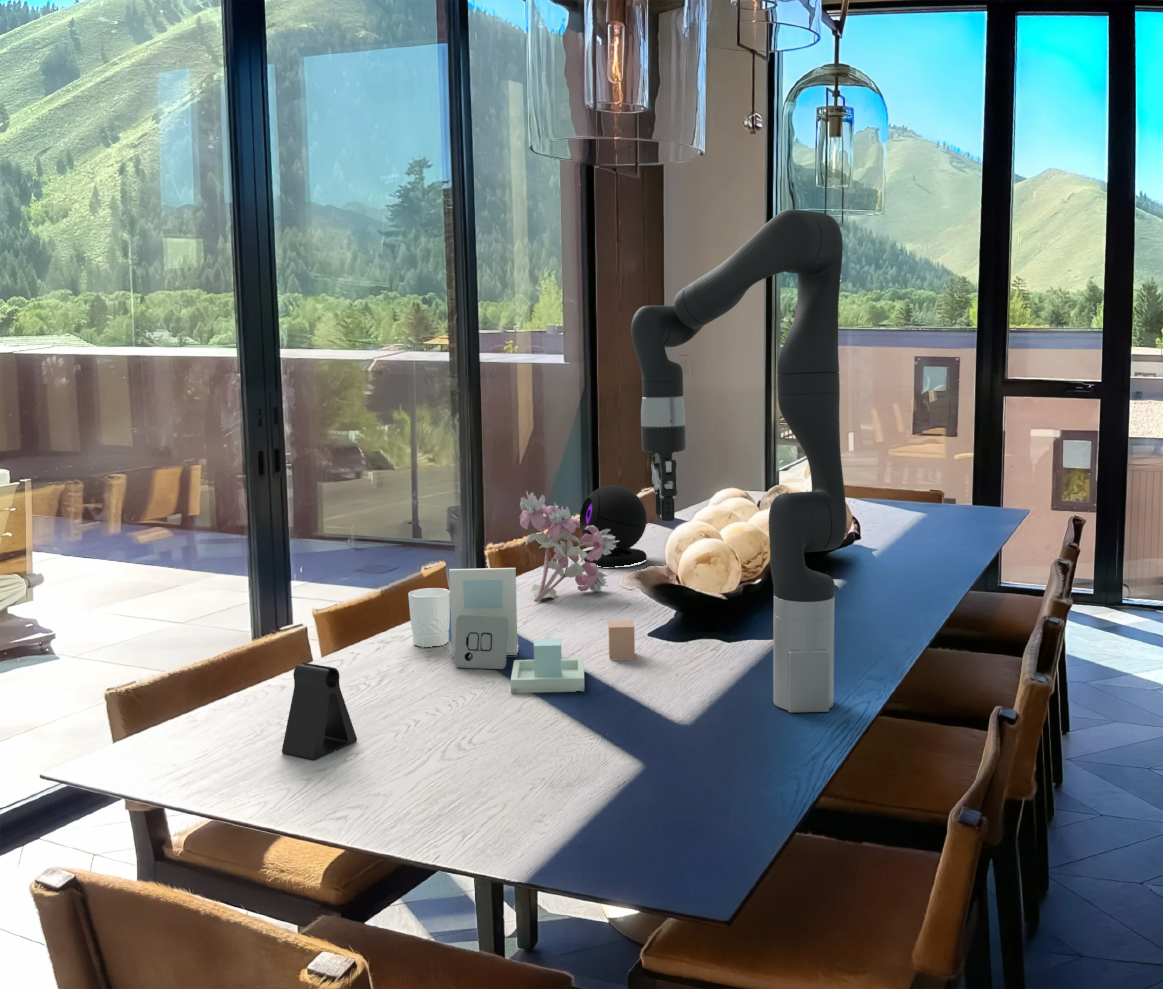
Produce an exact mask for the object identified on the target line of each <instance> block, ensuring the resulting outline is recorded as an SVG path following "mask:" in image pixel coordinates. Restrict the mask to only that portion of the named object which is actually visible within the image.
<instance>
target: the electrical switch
mask: <svg viewBox="0 0 1163 989" xmlns="http://www.w3.org/2000/svg"><path fill="white" fill-rule="evenodd" d="M507 627H508V618H507V617H506V616H484V615H459V616H458V617H457V622H456V640H455V657H453V658H454V660H453V661H454V662H453V664H454V666H455V667H456V668H459V669H478V670H479V669H481V670H483V669H485V670H504V669H505V668H506V667H507V656H506V649H507ZM470 654H471V655H472V657H468V656H469V655H470Z"/></svg>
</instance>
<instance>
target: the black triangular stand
mask: <svg viewBox="0 0 1163 989" xmlns="http://www.w3.org/2000/svg"><path fill="white" fill-rule="evenodd" d="M292 676H293V681H294V682H293V683H294V685H293V686H294V687H293V692H292V696H291V697H292V698H291V703H290V709H289V712H288V717H287V723H286V728H285V732H284V737H283V738H284V739H283V743H282V749H281V753H282V754H284V755H287V756H293V757H297V758H302V759H306V760H311V761H317V760H319V759H321V758H324V757H325V756H327V755H330V754H333V753H335V752H336V751H339V750H342V749H344V748H346V747H348V746H350V745H353V744H356V742H357V741H358V737H357V734H356V732H355V729H354V726H353V723H352V720H351V716H350V714H349V711H348V708H347V705H346V702H345V699H344V695H343V692H342V689H341V686H340V672H339V670H338V669H337V668H335V667H331V666H326V665H325V666H324V665H320V664H314V663H307V662H302V663H300V664H297V665H296V666H295V667H294V670H293V674H292Z"/></svg>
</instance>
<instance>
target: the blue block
mask: <svg viewBox="0 0 1163 989" xmlns="http://www.w3.org/2000/svg"><path fill="white" fill-rule="evenodd" d="M561 659H562V638H535V639H534V640H533V660H534V678H542V677H562V662H561Z"/></svg>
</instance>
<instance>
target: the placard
mask: <svg viewBox="0 0 1163 989" xmlns="http://www.w3.org/2000/svg"><path fill="white" fill-rule="evenodd" d="M516 570H517V568H516V567H498V568H497V567H493V568H491V567H490V568H487V567H486V568H450V569H449V570H448V573H449V574H448V575H449V591H450V630H451V631H450V632H451V633H450V634H451V636H450V637H451V654H450V655H451V658H455V640H456V622H457V617H458V616H459V615H484V616H506V617H507V618H508V627H507V649H506V655H517V653H518V654H519V649H518V647H519V644H518V643H519V642H518V641H519V640H518V612H517V611H518V610H517V607H518V605H517V603H518V602H517V574H516ZM517 656H518V655H517ZM468 657H469V658H471V657H472V655H471V654H470V655H469V656H468Z"/></svg>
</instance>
